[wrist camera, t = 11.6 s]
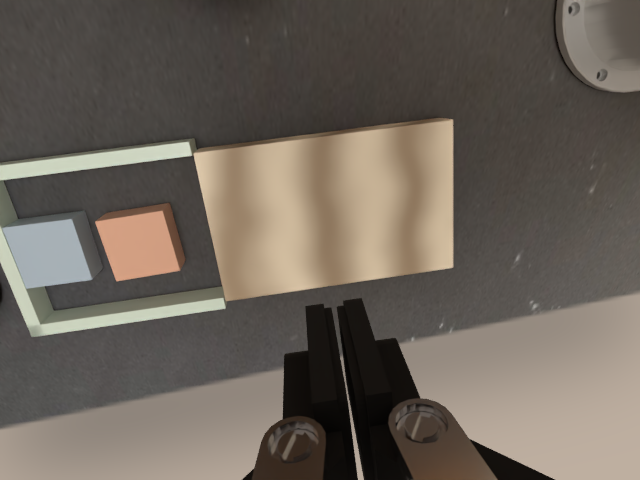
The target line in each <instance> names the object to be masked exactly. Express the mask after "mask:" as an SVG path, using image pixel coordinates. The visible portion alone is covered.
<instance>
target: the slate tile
mask: <svg viewBox="0 0 640 480" xmlns="http://www.w3.org/2000/svg"><path fill="white" fill-rule="evenodd" d="M2 229H3V232H4V234H5V237H6V239H7V242H8V244H9V247H10V249H11V252H12V254H13V257H14V259H15V262H16V264H17V267H18V269H19V272H20V274H21V277H22V279H23V282H24V284H25V287H26V289H28V288H35V287H42V286H50V285H57V284H64V283H72V282H79V281H86V280H92V279H93V278H94V277H95V276H96V275H97V274H98V273H99V272H100V271H101V270H102V269H103V266H102V263H101V260H100V257H99V254H98V250H97V247H96V244H95V241H94V238H93V235H92V232H91V229H90V225H89V222H88V219H87V216H86V213H85V211H77V212H69V213H62V214H54V215H46V216H38V217H30V218H23V219H18V220H16V221H14V222H12V223H10V224H9V225H7V226H5V227H3V228H2Z"/></svg>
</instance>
